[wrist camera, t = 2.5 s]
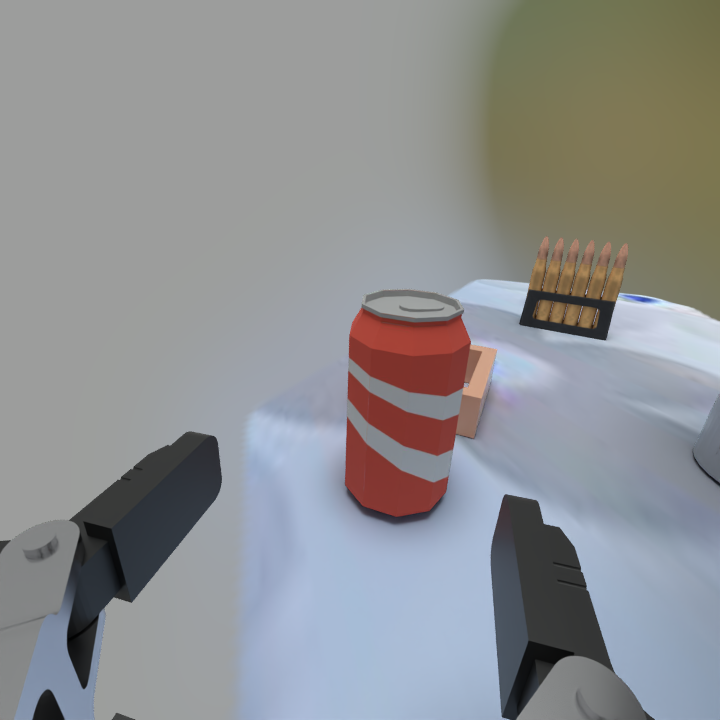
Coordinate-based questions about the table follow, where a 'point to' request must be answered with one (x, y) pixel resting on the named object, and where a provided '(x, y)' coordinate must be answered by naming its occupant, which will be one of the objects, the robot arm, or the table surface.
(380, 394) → the beverage can
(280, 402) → the table surface
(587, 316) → the ammunition clip
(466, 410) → the terracotta collar
